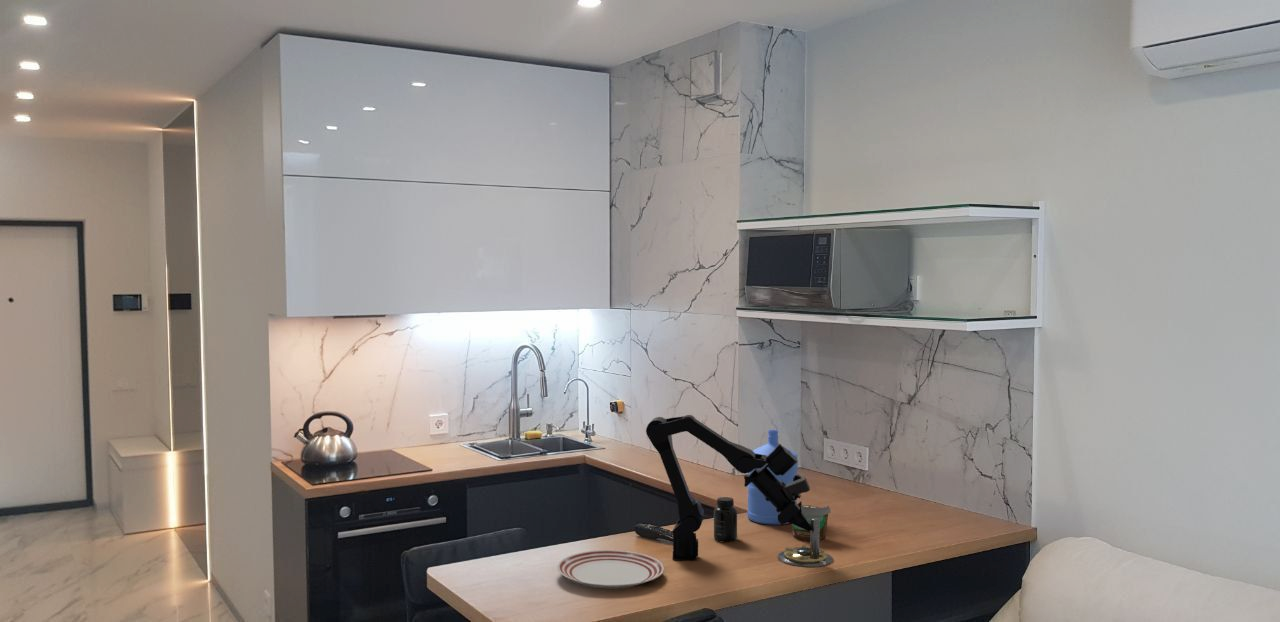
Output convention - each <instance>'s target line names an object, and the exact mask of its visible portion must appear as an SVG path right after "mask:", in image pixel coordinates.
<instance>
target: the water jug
mask: <svg viewBox="0 0 1280 622" xmlns="http://www.w3.org/2000/svg"><path fill="white" fill-rule="evenodd" d="M767 432H768V436H767V439H768V440H767V443H766V444H763V445H761V446H759V447H757V448H755V449H753V450H752V449H751V450H752V451H753V452H754V453H756V454H761V455H767V456H768V455H769V454H770V453H771V452H772V451H773V450H774V449H775V448H776V446H778V445H779V444H780V443H779V435H778V434H779V430H773V429H772V430H771V429H770V430H767ZM785 448H786V449H787V450H788V451H790V452H791V453H792V454H793V455H794V456H795V458H796V459H797V461H798V462H797V463H796V464H795V465H794V466H793V467H792V468H791V469H790V470H789V471H788V472H786V473H785V474H784V475H783V476H782V475H775V474H774V473H773V472H772V471H771V470H770V469H769V467H767V469H768V470H769V471H770V472H771V473H772V474H773V475H774V476H775V477H776V478H777V479H778V480H779V481H780V482H781V481H782V482H784V483H785V484H789V483H790V482H793V476H795V475H798V468H799V459H798V454H797V453H796V452H795V451H793V450H791V449H788V448H787V447H785ZM766 464H767V463H766ZM766 464H765V465H766ZM765 465H764V466H765ZM764 466H763V467H764ZM763 467H762V468H763ZM762 468H757V469H758V470H760V469H762ZM754 470H755V469H753V470H752V471H751V472H749V473H747V475H750V474H751V473H752V472H753V471H754ZM795 502H796V503H797V502H798V498H797V499H796V500H795ZM797 504H798V503H797ZM746 514H747V515H746V516H747V518H748V519H749V520H750V521H752V522H753V523H756V524H761V525H770V526H771V525H773V526H783V525H782V524H781V523H780V522H779V521H778V512H777V511H776V508H775V507H774V506H773V505H772V504H771V502H770V501H767V500H766V499H765V496H764V495H763V494H762V493H761V492H760V491H759V490H758V489H757V488H756V487H755V486H754V484H753V483H752V482H751V483H750V484H749V485H748V486H747V510H746ZM788 524H790V523H788V522H786V523H785V524H784V525H788Z"/></svg>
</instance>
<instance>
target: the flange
mask: <svg viewBox="0 0 1280 622" xmlns="http://www.w3.org/2000/svg"><path fill="white" fill-rule="evenodd" d="M809 548H810V547H808V548H799V549H797V553H798V554H801V555H810V549H809ZM784 551H785V550H783V551H781V552H780V553H778V554H777V559H778V561H780V562H781V561H782V562H781V563H783V562H784V563H783V564H786V565H790V566H794V567H799V568H801V567H802V568H817V567H818V568H820V567H824V566H828V565H830V564H832V563H833V561H834V558H833V556H832V555H830V554H828V553H826V554H827V559H826V560H825V561H822V560H821V561H819V563H798V562H793V561H790V560H787V559H786V558H784Z"/></svg>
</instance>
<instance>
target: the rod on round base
mask: <svg viewBox="0 0 1280 622" xmlns="http://www.w3.org/2000/svg"><path fill="white" fill-rule="evenodd" d="M811 527H812V530H811V531H810V542H809V544H810V545H809V547H807V545H805V544H804V545H801V546H799V547H798V546H797V547H785V550H783V551H784V558H786V559H787V560H790V561H793V562H798V563H819V561H821V560H822V561H825V560H826V559H827V554H828V553H827V552H826V551H825V549H823V548H820V541H819V533H820V519H817V518H812V519H811ZM799 548H809V549H810V555H801V554H798V553H797V549H799Z"/></svg>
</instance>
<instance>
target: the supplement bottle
mask: <svg viewBox="0 0 1280 622" xmlns="http://www.w3.org/2000/svg"><path fill="white" fill-rule="evenodd" d="M734 505H735V504H734V498H733V497H728V496H722V497H721V496H720V497H718V498H717V499H716V506H717V507H715V508H714V510H713V538H714V540H715V541H716V540H718V541H717V542H719V541H723V542H722V543H731V542H730V541H732V542H735V541H736V540H737V539H738V511H737V509H736V508H735V506H734Z"/></svg>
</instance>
